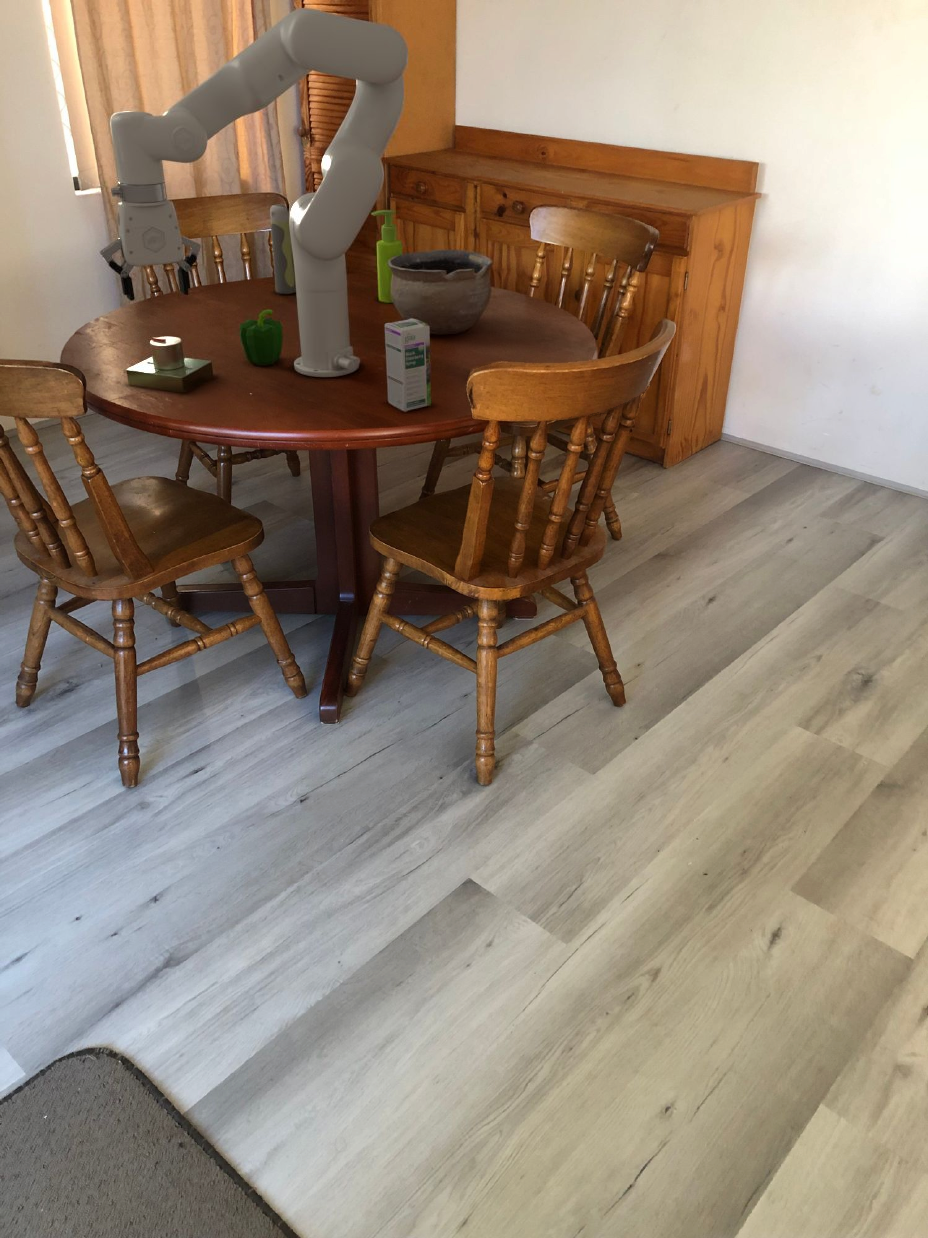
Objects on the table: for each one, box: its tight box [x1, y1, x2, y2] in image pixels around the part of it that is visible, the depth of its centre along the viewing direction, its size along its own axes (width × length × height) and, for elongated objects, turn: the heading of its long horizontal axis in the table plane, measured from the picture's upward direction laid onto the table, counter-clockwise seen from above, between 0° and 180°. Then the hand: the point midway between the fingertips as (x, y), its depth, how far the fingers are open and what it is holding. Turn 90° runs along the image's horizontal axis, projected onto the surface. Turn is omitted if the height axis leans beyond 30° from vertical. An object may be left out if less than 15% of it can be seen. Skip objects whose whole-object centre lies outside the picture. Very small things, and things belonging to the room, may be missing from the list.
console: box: [125, 356, 214, 394], centre depth 182 cm, size 12×10×3 cm
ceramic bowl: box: [388, 249, 494, 336], centre depth 208 cm, size 22×22×15 cm
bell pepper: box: [238, 309, 284, 366], centre depth 190 cm, size 8×8×10 cm
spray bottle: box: [269, 203, 296, 295], centre depth 231 cm, size 5×5×20 cm
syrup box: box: [384, 318, 432, 412], centre depth 170 cm, size 6×6×14 cm
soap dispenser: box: [370, 209, 403, 304], centre depth 227 cm, size 6×7×20 cm
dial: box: [149, 336, 185, 370], centre depth 180 cm, size 6×6×5 cm
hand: (157, 295), depth 174 cm, fingers open, 9 cm apart
